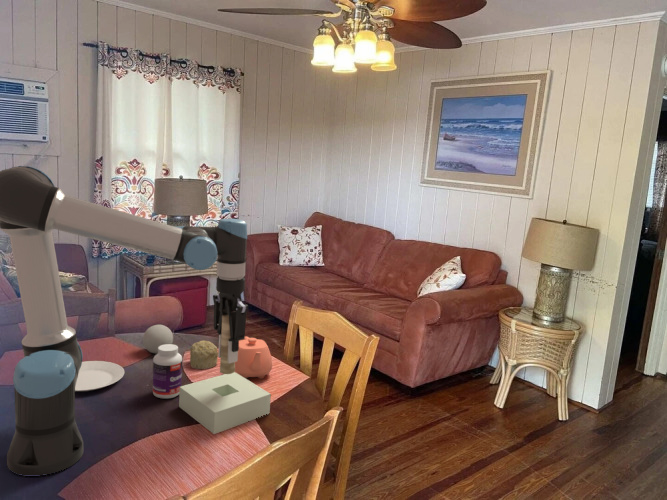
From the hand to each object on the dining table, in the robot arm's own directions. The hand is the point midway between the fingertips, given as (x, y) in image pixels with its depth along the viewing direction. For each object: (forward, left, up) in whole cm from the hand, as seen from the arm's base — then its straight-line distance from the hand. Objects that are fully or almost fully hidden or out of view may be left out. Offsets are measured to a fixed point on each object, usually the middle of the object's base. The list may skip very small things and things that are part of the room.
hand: (227, 358), depth 142 cm
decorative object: (+12, +31, -16) cm, 37 cm away
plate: (-23, +39, -16) cm, 48 cm away
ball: (+4, +48, -16) cm, 51 cm away
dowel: (0, 0, -4) cm, 4 cm away
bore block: (0, 0, -15) cm, 15 cm away
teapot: (+20, +15, -16) cm, 29 cm away
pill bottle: (-8, +18, -16) cm, 25 cm away
